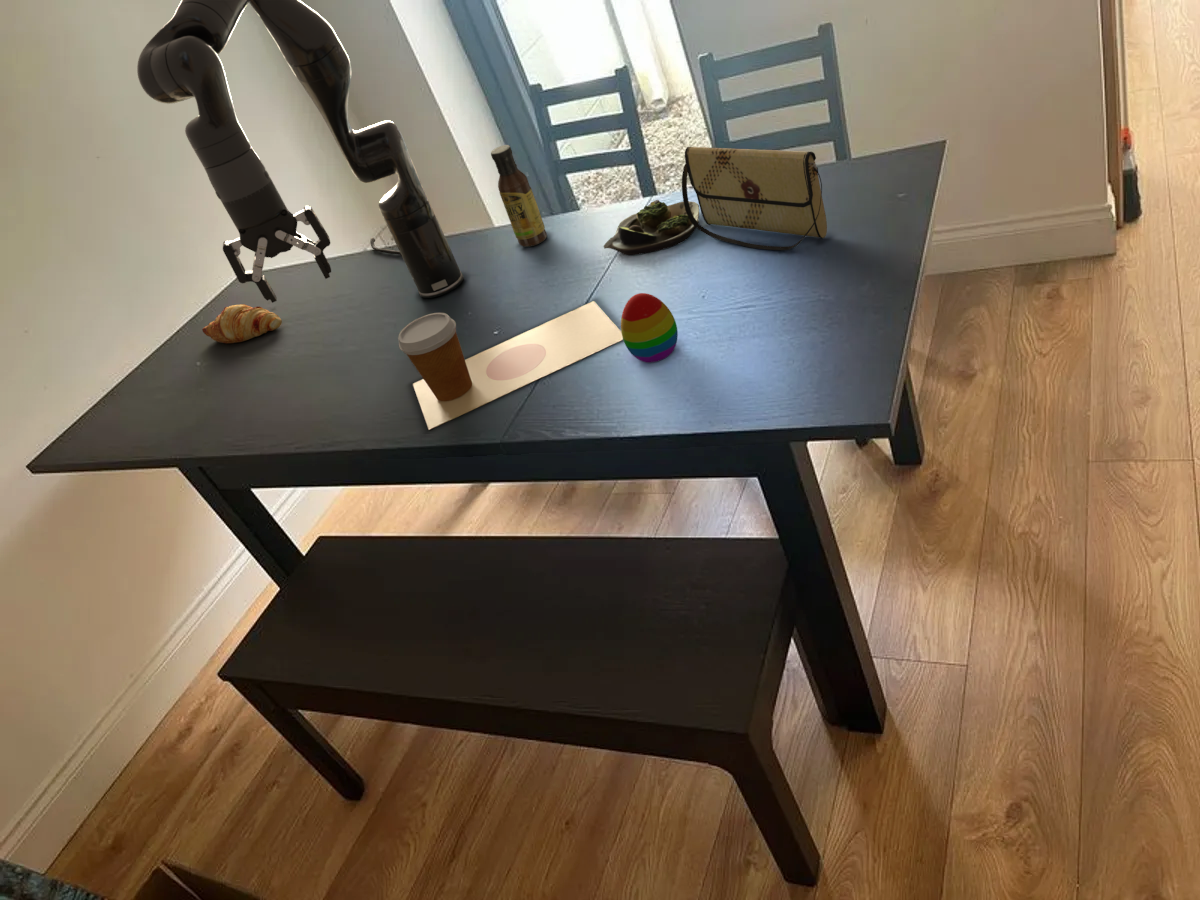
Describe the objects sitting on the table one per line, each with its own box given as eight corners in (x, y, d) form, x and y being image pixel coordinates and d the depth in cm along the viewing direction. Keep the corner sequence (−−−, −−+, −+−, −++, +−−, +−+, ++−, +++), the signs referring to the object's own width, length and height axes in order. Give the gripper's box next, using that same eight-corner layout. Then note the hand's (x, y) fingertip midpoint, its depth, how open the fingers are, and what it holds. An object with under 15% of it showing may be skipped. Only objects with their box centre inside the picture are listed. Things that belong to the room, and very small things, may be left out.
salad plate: (619, 217, 188) (612, 196, 186) (706, 197, 182) (700, 175, 180) (602, 263, 174) (595, 241, 171) (696, 243, 168) (690, 219, 165)
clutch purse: (683, 238, 171) (660, 160, 163) (708, 220, 174) (687, 142, 166) (816, 257, 150) (798, 168, 141) (842, 235, 153) (825, 147, 144)
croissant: (299, 334, 202) (292, 296, 201) (267, 338, 193) (259, 299, 192) (223, 344, 211) (216, 309, 209) (189, 349, 201) (181, 311, 200)
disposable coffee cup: (471, 403, 147) (440, 338, 141) (418, 411, 151) (386, 349, 144) (488, 369, 155) (460, 306, 148) (438, 377, 158) (407, 316, 151)
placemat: (412, 384, 159) (412, 383, 159) (593, 301, 162) (593, 300, 162) (429, 430, 145) (428, 429, 145) (626, 338, 148) (626, 337, 148)
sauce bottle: (513, 248, 193) (477, 156, 182) (533, 233, 196) (498, 142, 185) (535, 249, 189) (499, 155, 178) (555, 234, 192) (520, 141, 181)
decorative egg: (675, 331, 145) (658, 274, 140) (688, 355, 138) (670, 296, 133) (626, 349, 146) (606, 294, 140) (636, 374, 139) (616, 317, 133)
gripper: (291, 161, 136) (343, 261, 145) (198, 201, 134) (256, 299, 143) (293, 173, 129) (347, 276, 138) (195, 215, 128) (256, 317, 137)
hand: (301, 288), depth 141 cm, fingers open, 8 cm apart
